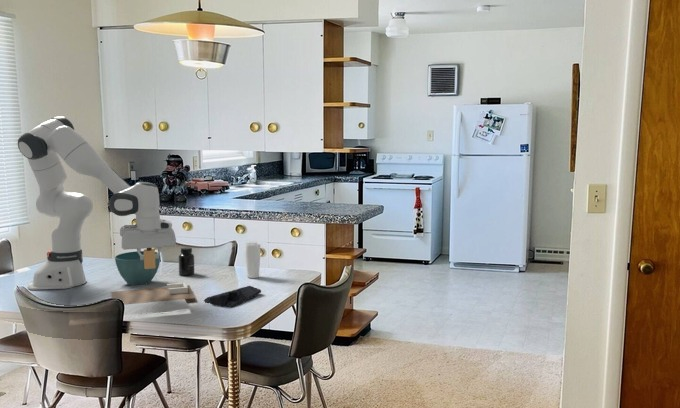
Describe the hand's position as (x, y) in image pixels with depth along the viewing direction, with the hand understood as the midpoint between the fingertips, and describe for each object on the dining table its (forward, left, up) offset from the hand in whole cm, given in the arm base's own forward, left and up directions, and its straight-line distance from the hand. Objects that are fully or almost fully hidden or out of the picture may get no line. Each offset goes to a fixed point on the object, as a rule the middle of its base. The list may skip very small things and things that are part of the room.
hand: (149, 259), depth 241 cm
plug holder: (+10, +1, -14) cm, 17 cm away
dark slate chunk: (+30, -13, -16) cm, 36 cm away
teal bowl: (-3, +24, -15) cm, 28 cm away
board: (+1, -2, -15) cm, 15 cm away
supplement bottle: (+18, +34, -15) cm, 41 cm away
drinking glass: (+45, +19, -15) cm, 51 cm away
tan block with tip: (0, 0, -3) cm, 3 cm away
